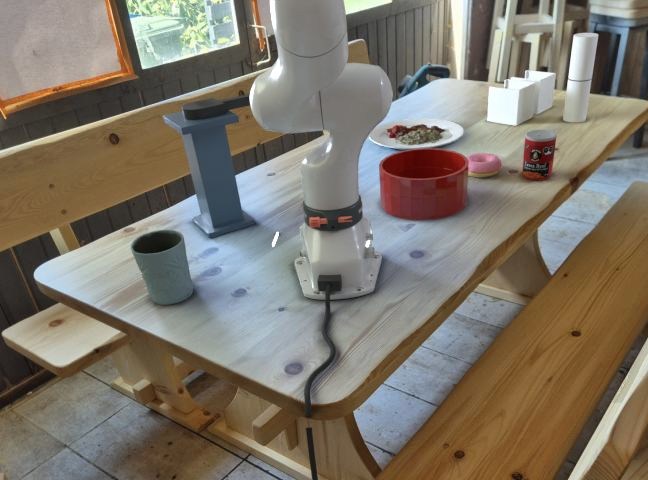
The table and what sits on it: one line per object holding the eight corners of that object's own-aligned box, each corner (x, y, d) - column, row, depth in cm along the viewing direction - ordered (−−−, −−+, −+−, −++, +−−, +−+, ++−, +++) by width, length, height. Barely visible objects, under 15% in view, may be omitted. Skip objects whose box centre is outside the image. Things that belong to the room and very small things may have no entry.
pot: (474, 216, 142) (476, 175, 136) (384, 223, 142) (382, 183, 136) (458, 182, 159) (460, 145, 154) (378, 189, 160) (376, 152, 154)
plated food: (462, 153, 178) (462, 141, 176) (362, 154, 183) (362, 143, 181) (464, 123, 201) (464, 112, 199) (376, 124, 206) (375, 114, 204)
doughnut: (489, 182, 158) (490, 166, 156) (453, 175, 164) (453, 160, 161) (508, 169, 165) (509, 154, 163) (473, 162, 171) (473, 148, 168)
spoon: (254, 99, 142) (253, 89, 140) (267, 104, 137) (265, 94, 136) (179, 115, 134) (177, 105, 133) (189, 122, 129) (187, 111, 128)
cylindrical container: (562, 122, 195) (573, 37, 180) (563, 115, 200) (573, 33, 185) (585, 122, 193) (598, 36, 178) (585, 116, 198) (598, 32, 184)
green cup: (178, 276, 128) (163, 225, 121) (208, 290, 122) (194, 237, 115) (137, 298, 122) (119, 245, 115) (167, 313, 116) (150, 258, 109)
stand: (237, 207, 156) (216, 103, 140) (258, 224, 147) (238, 115, 131) (189, 221, 151) (162, 115, 135) (208, 239, 142) (181, 128, 126)
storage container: (516, 125, 195) (519, 90, 189) (487, 121, 201) (488, 86, 195) (552, 106, 210) (556, 73, 203) (524, 102, 216) (526, 70, 209)
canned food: (518, 179, 159) (521, 137, 152) (526, 169, 164) (530, 128, 158) (547, 182, 155) (552, 140, 149) (554, 172, 161) (559, 130, 154)
